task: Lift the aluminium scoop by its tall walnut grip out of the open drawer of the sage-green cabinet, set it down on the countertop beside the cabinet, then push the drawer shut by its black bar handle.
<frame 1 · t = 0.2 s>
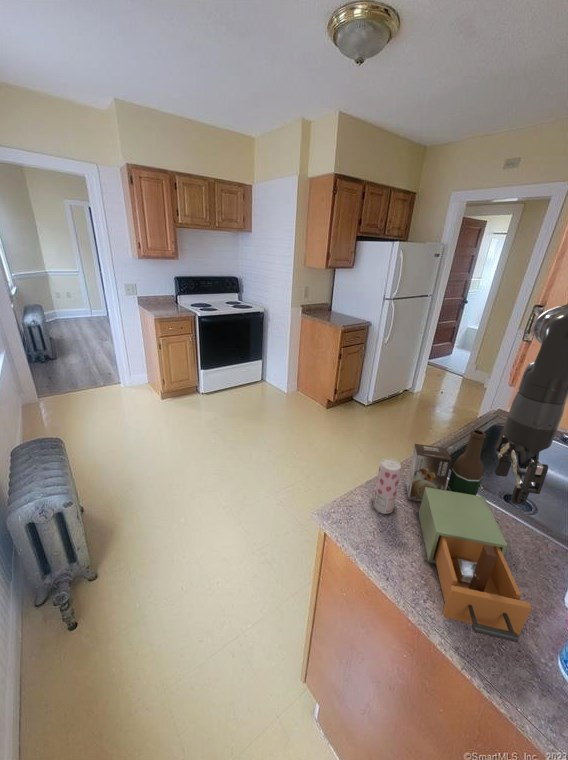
hand: (508, 488, 65), 24 cm above the worktop, tool pointing down, fingers open, 8 cm apart
drawer: (477, 588, 66), point 5 cm above the worktop, slide at 12.0 cm, touching scoop
coffee box: (422, 496, 98), on the worktop
cabinet: (453, 542, 82), on the worktop
beer bottle: (458, 502, 95), on the worktop
beverage can: (383, 507, 93), on the worktop
scoop: (470, 584, 69), point 2 cm above the worktop, touching drawer
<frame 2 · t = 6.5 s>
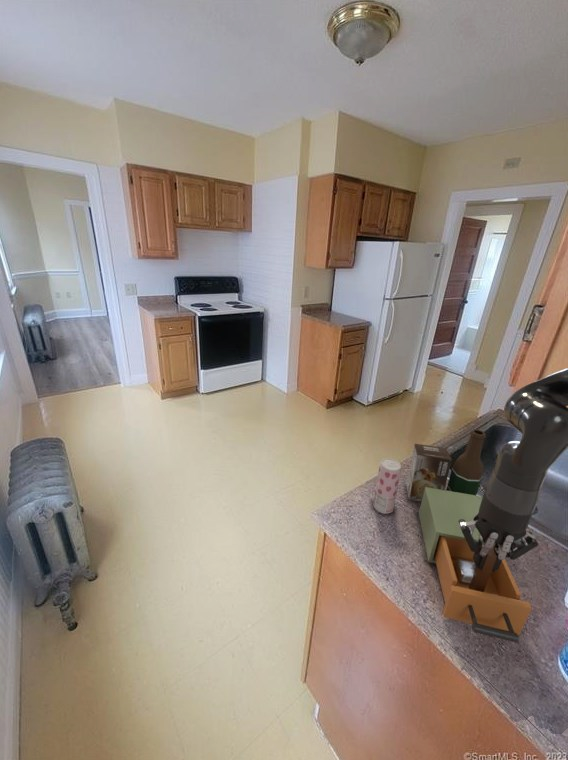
hand: (484, 566, 64), 11 cm above the worktop, tool pointing down, fingers closed on scoop
drawer: (477, 588, 66), point 5 cm above the worktop, slide at 12.0 cm
scoop: (470, 584, 69), point 2 cm above the worktop, touching gripper
everything else where it was.
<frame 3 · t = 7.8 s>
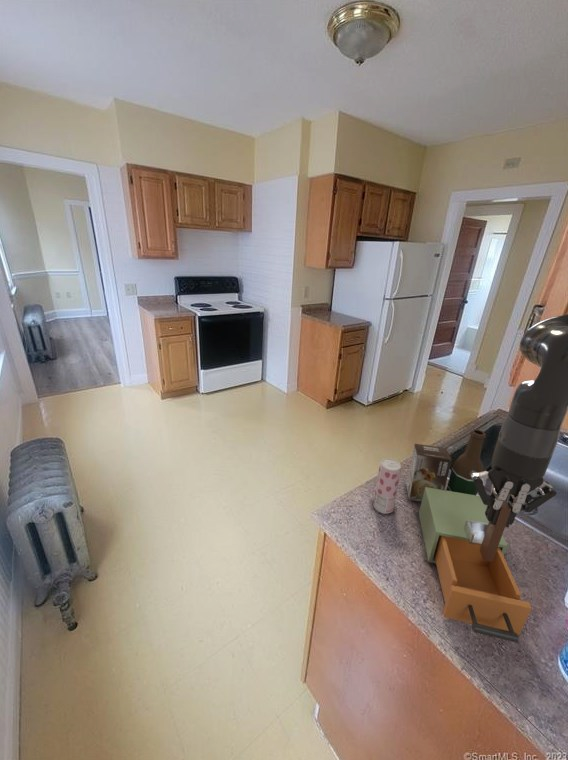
hand: (497, 522, 60), 22 cm above the worktop, tool pointing down, fingers closed on scoop
scoop: (481, 545, 65), point 13 cm above the worktop, touching gripper
everything else where it was.
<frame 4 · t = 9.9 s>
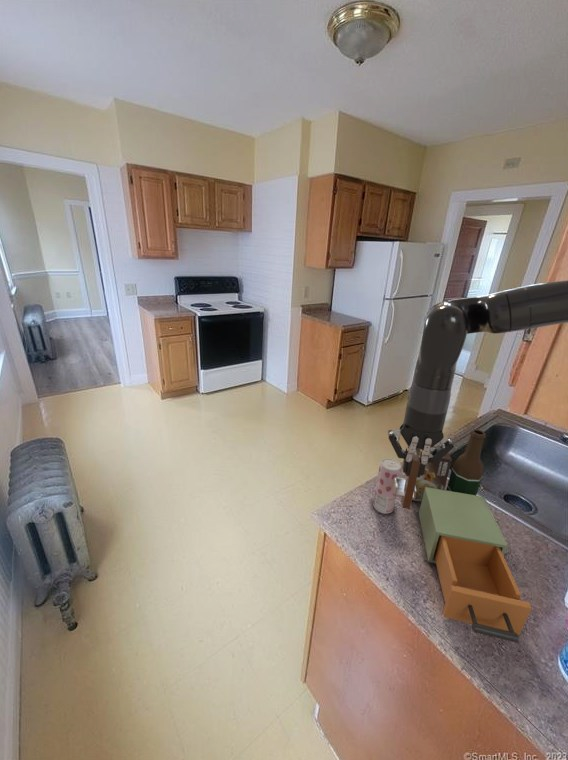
hand: (412, 474, 71), 23 cm above the worktop, tool pointing down, fingers closed on scoop
scoop: (404, 497, 76), point 14 cm above the worktop, touching gripper
everything else where it was.
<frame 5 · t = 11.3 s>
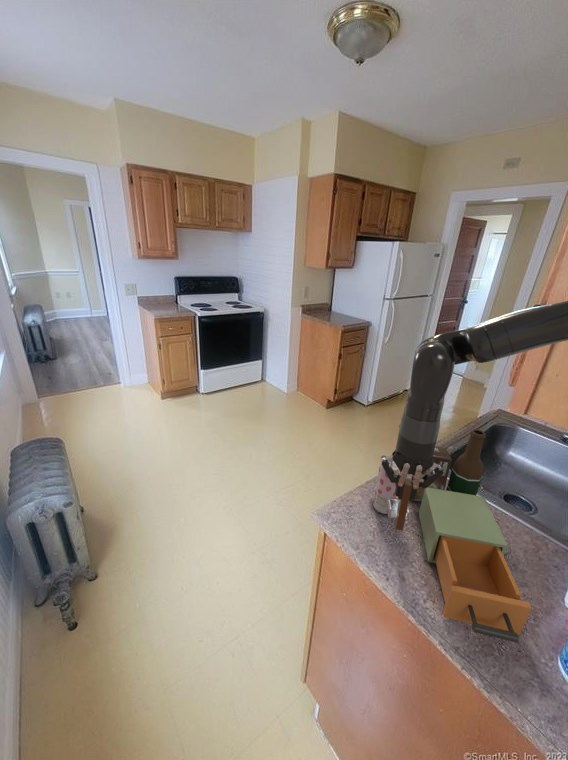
hand: (404, 497, 74), 16 cm above the worktop, tool pointing down, fingers closed on scoop
scoop: (397, 518, 79), point 7 cm above the worktop, touching gripper
everything else where it was.
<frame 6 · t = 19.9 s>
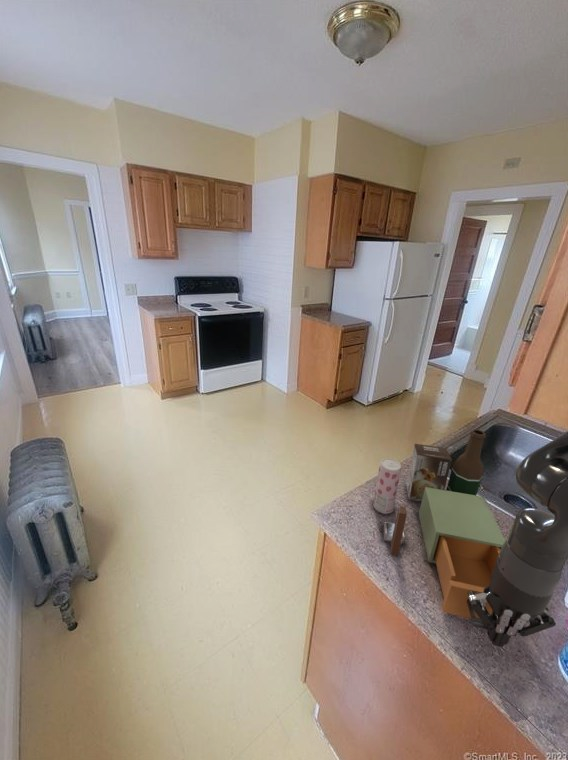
hand: (495, 640, 57), 5 cm above the worktop, tool pointing down, fingers closed
drawer: (476, 584, 67), point 5 cm above the worktop, slide at 11.0 cm, touching gripper
scoop: (393, 542, 81), on the worktop
everything else where it was.
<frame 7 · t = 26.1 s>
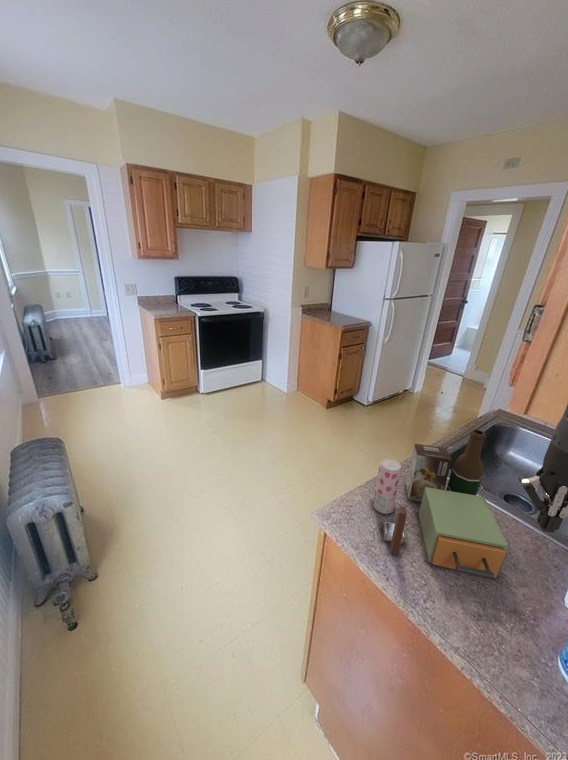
hand: (545, 528, 57), 23 cm above the worktop, tool pointing down, fingers closed
drawer: (462, 541, 76), point 5 cm above the worktop, slide at 0.0 cm, touching cabinet
everything else where it was.
at the end: scoop inside the target area (0.9 cm from its centre), on the worktop; scoop tilted 0°; drawer slide at 0.0 cm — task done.
